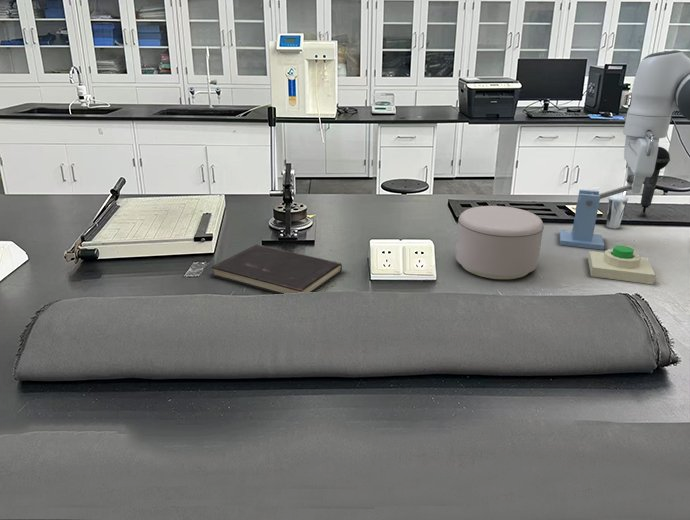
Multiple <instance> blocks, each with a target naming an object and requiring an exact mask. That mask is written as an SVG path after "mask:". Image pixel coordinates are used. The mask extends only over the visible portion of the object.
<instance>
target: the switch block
mask: <svg viewBox="0 0 690 520" xmlns="http://www.w3.org/2000/svg"><path fill="white" fill-rule="evenodd" d="M612 252H613V248H608V249H607V250H605V251H604V252H602V251H595V250H594V251H593V250H589V252H588V256H587V262H588V269H589V273H590V277H592V278H602V279H610V280H617V281H624V282H630V283H631V282H632V283H639V284H640V283H641V284H647V285H654V282H655V278H656V273H655V271H654V269H653V266H652V264H651V261H650V260H649V258H648V257H645V256H644V257H643V256H641V255H639V254H638V253H636V252H634V253H633V257H632V259H624V258H618V257H615V256H613V255H612Z"/></svg>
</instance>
